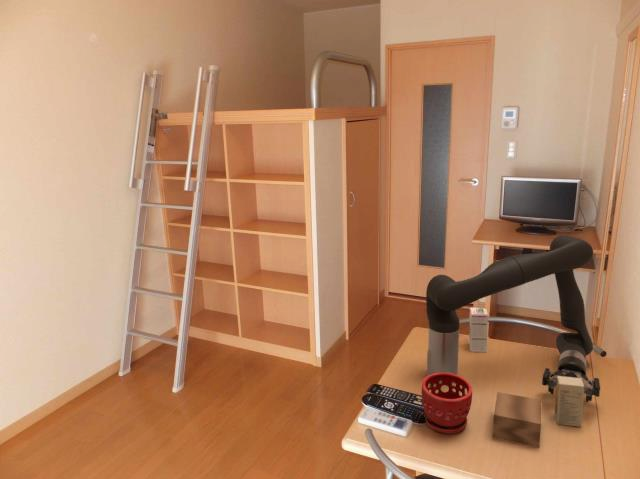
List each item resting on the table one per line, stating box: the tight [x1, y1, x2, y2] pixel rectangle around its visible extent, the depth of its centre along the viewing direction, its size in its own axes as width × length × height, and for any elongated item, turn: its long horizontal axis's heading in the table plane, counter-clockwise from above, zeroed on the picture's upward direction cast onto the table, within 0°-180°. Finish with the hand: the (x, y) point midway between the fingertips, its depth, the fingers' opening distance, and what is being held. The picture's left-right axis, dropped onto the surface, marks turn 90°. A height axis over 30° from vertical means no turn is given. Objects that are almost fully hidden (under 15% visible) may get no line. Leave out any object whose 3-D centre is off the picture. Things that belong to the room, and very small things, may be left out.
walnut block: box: [492, 391, 542, 449], centre depth 127 cm, size 11×11×7 cm
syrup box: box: [468, 307, 489, 353], centre depth 169 cm, size 6×6×14 cm
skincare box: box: [554, 376, 585, 428], centre depth 129 cm, size 6×4×12 cm
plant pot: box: [421, 372, 473, 434], centre depth 130 cm, size 13×13×12 cm
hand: (569, 395), depth 130 cm, fingers open, 8 cm apart
